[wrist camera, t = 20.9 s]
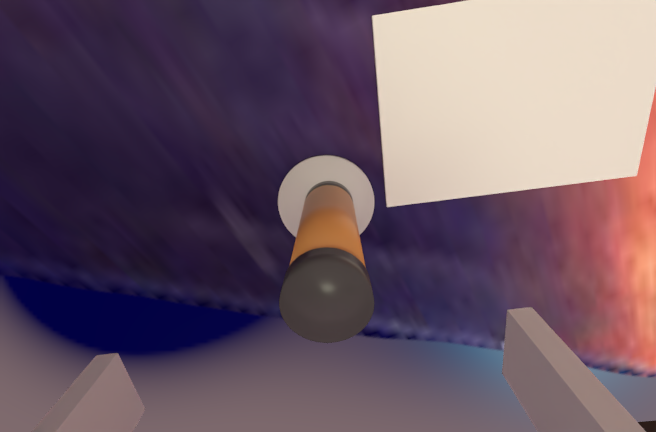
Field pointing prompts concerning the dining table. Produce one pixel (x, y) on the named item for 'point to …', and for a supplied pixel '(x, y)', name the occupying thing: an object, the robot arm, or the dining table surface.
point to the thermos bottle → (327, 270)
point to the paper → (512, 95)
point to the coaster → (319, 171)
